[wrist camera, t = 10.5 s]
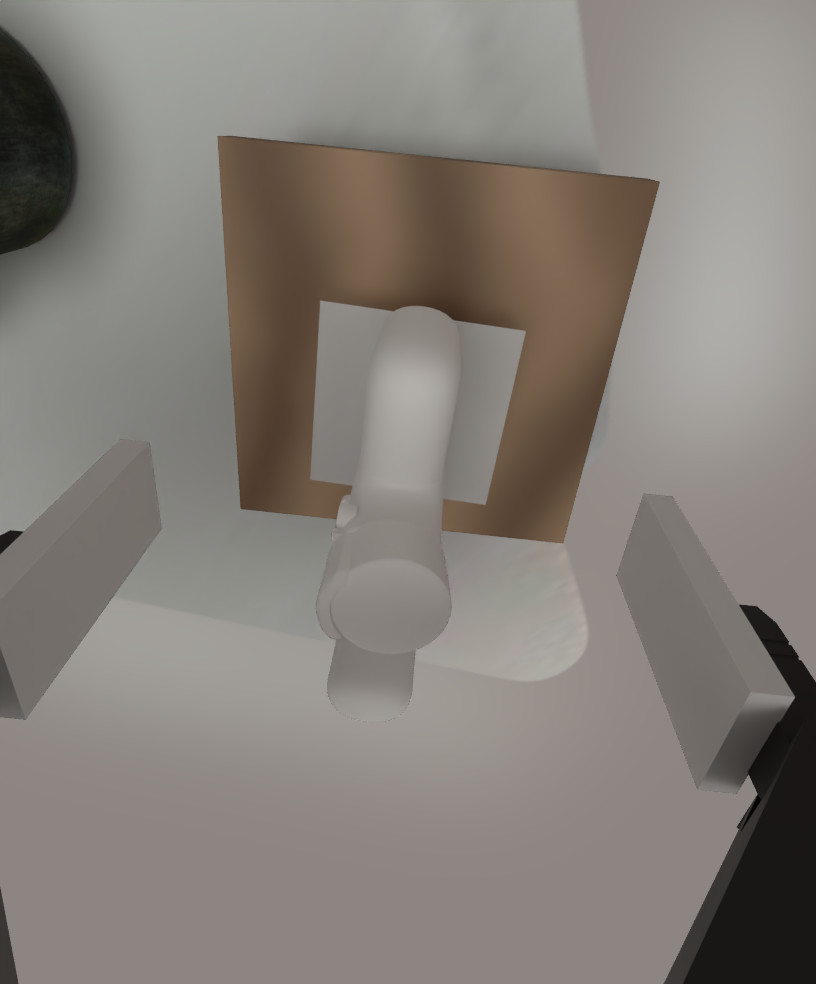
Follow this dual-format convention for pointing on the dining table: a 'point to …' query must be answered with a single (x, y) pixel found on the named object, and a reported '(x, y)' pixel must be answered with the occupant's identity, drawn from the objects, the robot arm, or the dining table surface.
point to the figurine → (399, 481)
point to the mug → (29, 152)
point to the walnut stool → (425, 303)
